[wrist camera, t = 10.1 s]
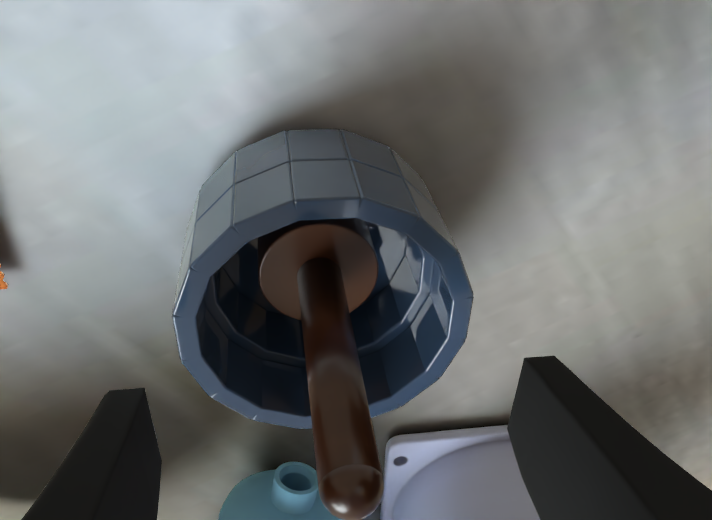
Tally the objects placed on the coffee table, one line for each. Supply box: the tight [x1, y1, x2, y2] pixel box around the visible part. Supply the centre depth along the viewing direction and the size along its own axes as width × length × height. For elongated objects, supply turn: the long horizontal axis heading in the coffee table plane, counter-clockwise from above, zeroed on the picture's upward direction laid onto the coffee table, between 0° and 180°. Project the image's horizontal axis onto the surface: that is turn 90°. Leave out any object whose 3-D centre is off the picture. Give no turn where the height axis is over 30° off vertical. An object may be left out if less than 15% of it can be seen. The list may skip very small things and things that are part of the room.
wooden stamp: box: [258, 218, 384, 520], centre depth 13 cm, size 3×3×8 cm
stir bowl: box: [172, 129, 473, 429], centre depth 15 cm, size 7×7×4 cm
